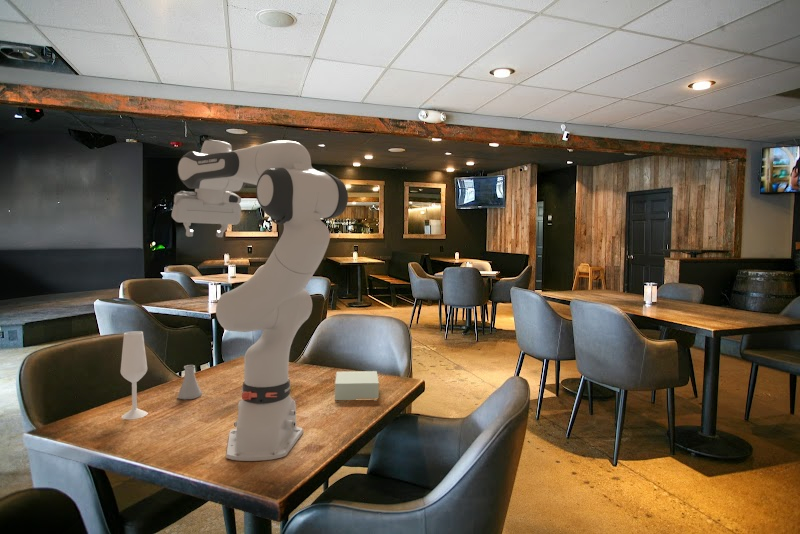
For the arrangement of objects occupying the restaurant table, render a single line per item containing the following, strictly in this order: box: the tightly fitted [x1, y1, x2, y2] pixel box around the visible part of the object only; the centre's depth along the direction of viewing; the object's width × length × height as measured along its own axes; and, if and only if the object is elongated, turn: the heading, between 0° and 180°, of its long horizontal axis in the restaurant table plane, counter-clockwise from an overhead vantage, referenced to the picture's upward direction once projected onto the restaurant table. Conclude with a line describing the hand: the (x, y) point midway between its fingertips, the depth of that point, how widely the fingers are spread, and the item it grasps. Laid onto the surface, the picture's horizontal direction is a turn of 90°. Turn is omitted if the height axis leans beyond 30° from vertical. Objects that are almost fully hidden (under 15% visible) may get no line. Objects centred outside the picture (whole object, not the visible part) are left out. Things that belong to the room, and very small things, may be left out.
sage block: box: [334, 370, 380, 401], centre depth 157 cm, size 14×14×6 cm
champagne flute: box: [120, 330, 149, 420], centre depth 134 cm, size 7×7×24 cm
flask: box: [176, 364, 203, 400], centre depth 152 cm, size 7×7×10 cm
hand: (204, 236), depth 146 cm, fingers open, 8 cm apart
